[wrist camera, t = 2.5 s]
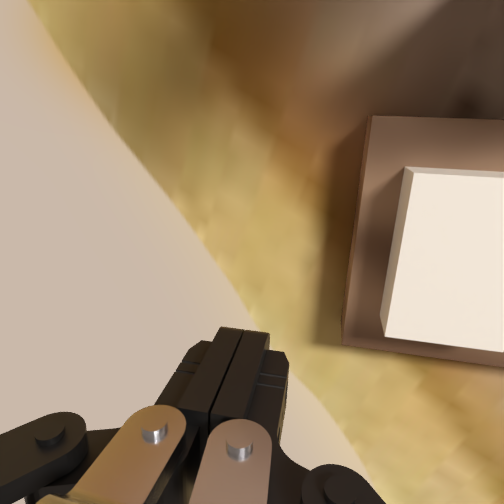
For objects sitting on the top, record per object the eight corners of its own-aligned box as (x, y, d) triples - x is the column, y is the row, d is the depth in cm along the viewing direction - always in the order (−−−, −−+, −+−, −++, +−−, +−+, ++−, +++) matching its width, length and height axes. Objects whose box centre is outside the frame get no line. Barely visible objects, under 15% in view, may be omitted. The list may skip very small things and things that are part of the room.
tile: (404, 166, 20) (414, 172, 18) (529, 173, 19) (556, 181, 17) (379, 314, 23) (384, 336, 21) (485, 327, 22) (503, 352, 20)
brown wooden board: (368, 115, 22) (372, 115, 19) (687, 126, 19) (745, 127, 17) (340, 321, 27) (341, 344, 24) (593, 354, 24) (626, 384, 21)
